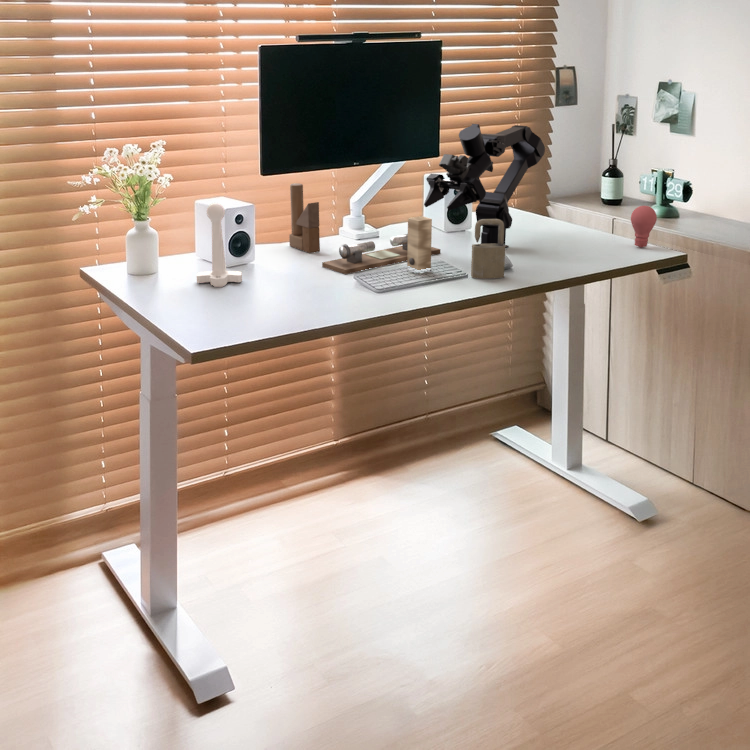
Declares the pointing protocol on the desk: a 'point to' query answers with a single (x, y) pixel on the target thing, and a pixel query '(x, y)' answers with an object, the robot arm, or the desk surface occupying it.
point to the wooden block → (304, 222)
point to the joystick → (218, 252)
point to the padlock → (488, 253)
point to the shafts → (368, 248)
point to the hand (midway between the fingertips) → (436, 207)
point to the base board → (372, 260)
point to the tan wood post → (419, 242)
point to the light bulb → (643, 224)
